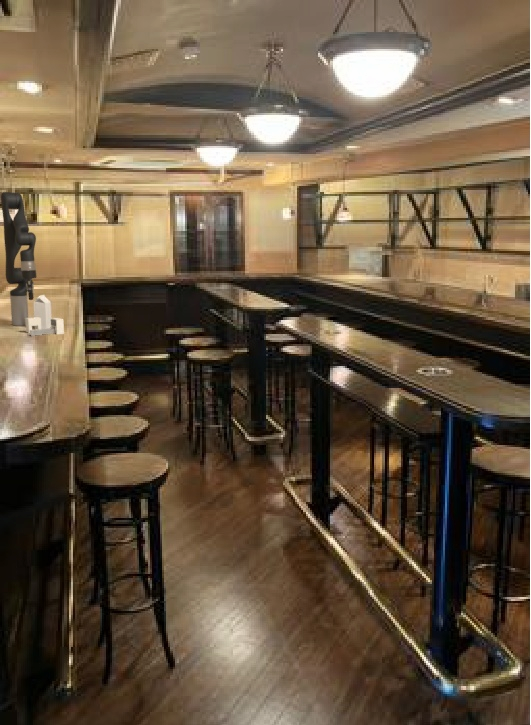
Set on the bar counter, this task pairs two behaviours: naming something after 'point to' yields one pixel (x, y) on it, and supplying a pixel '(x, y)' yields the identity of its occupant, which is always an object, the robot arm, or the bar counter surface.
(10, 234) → the robot arm
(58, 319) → the block
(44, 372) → the bar counter surface
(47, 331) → the rail
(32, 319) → the cream rectangular block
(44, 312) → the milk carton
